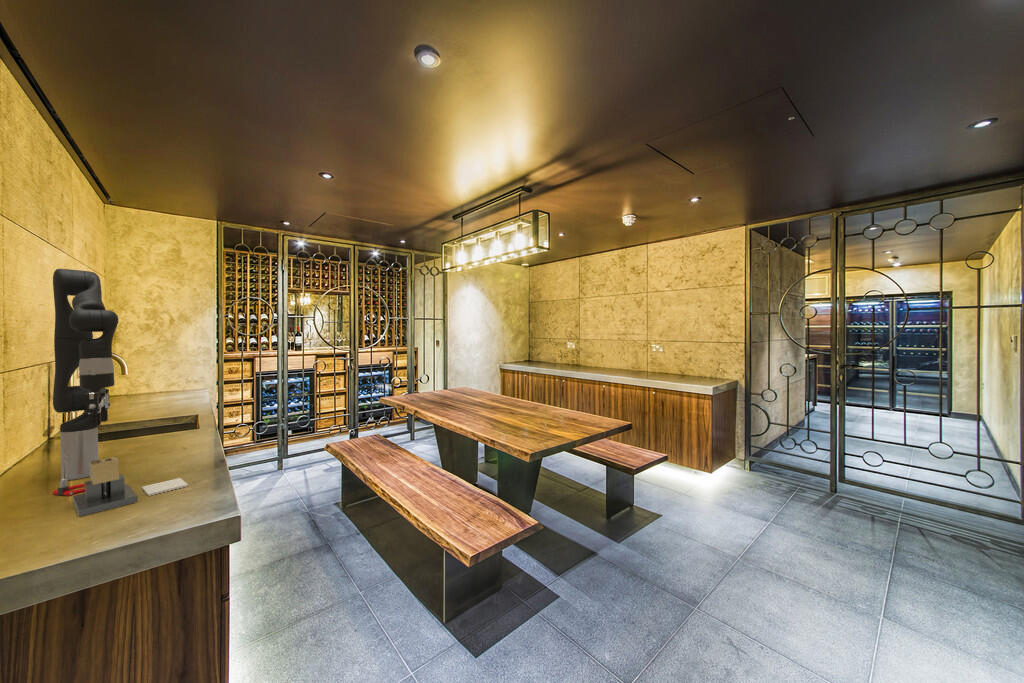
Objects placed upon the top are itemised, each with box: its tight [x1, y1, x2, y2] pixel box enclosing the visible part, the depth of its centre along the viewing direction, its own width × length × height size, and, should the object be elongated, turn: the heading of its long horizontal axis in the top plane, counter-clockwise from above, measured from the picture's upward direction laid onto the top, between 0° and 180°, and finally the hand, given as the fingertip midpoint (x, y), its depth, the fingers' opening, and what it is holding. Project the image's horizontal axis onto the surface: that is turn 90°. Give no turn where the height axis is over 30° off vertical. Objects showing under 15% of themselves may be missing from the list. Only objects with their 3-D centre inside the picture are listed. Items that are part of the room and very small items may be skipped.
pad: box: [141, 477, 189, 497], centre depth 130 cm, size 10×10×1 cm
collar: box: [89, 456, 120, 485], centre depth 119 cm, size 6×6×6 cm
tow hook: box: [51, 455, 85, 497], centre depth 129 cm, size 8×13×9 cm
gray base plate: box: [72, 461, 138, 518], centre depth 119 cm, size 16×12×12 cm
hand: (99, 423), depth 122 cm, fingers open, 8 cm apart
